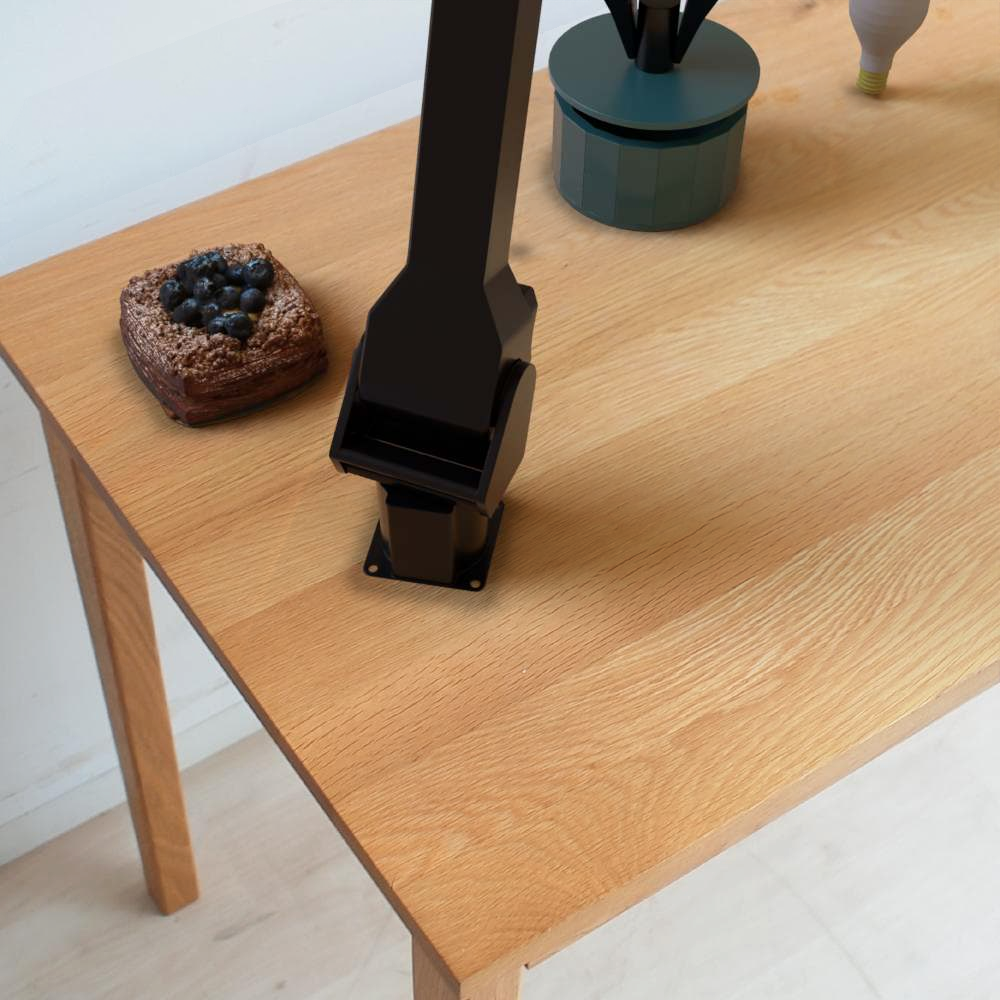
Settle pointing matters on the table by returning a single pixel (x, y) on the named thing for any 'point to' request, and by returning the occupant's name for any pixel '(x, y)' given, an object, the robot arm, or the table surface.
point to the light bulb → (883, 35)
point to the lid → (654, 71)
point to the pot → (645, 169)
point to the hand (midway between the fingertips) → (655, 58)
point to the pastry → (222, 334)
